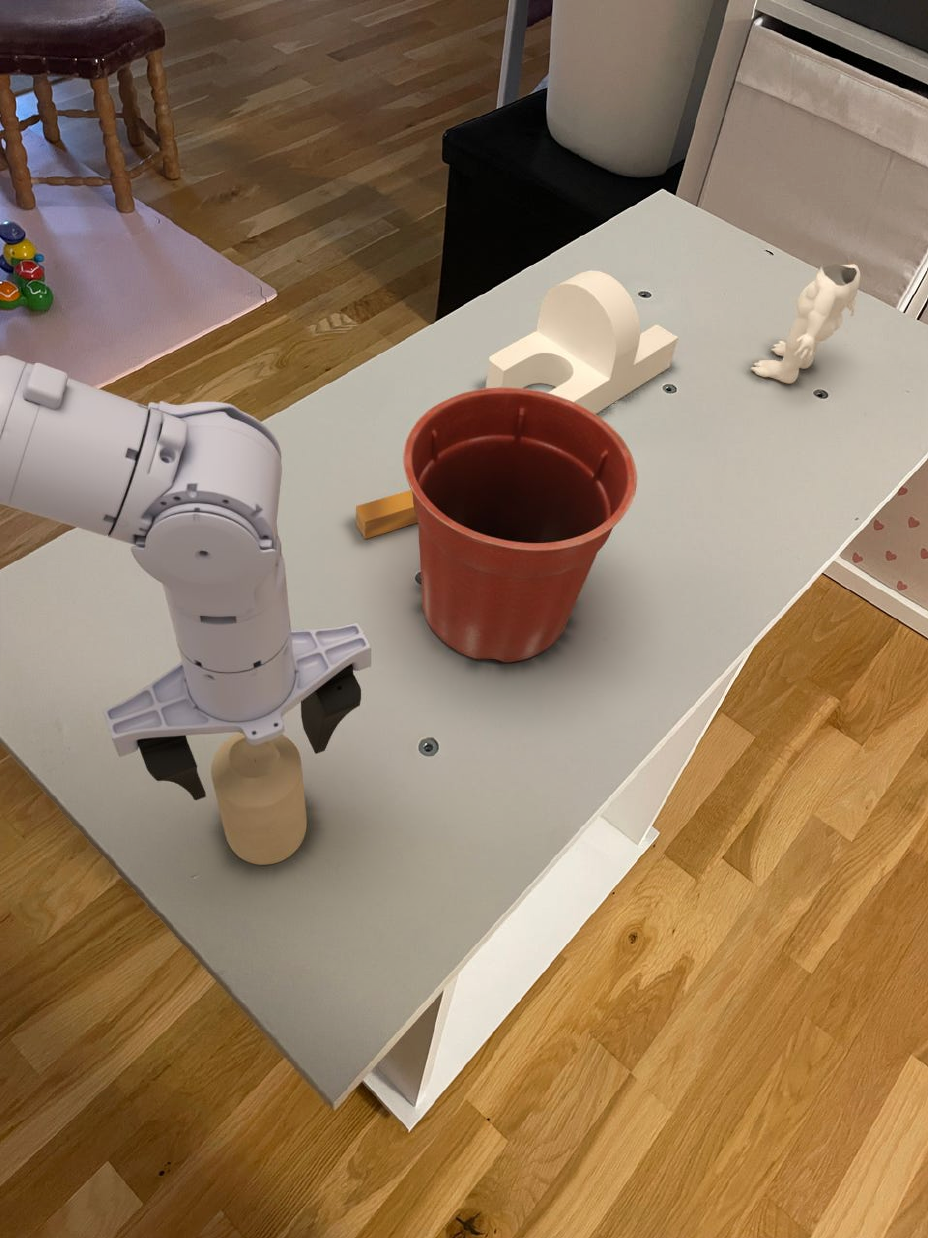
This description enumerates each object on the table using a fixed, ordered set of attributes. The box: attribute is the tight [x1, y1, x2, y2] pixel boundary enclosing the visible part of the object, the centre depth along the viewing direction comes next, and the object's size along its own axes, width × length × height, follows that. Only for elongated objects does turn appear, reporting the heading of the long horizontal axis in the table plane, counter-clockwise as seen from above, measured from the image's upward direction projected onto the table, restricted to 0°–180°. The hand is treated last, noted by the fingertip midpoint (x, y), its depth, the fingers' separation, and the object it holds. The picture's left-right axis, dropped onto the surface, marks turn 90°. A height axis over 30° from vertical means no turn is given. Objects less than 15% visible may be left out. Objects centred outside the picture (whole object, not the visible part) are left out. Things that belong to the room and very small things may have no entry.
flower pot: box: [402, 387, 638, 663], centre depth 76 cm, size 16×16×16 cm
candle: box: [210, 732, 308, 866], centre depth 64 cm, size 6×6×10 cm
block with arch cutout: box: [485, 269, 679, 415], centre depth 97 cm, size 18×10×11 cm, turn 134°
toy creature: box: [750, 263, 861, 384], centre depth 100 cm, size 12×6×12 cm, turn 141°
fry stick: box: [355, 489, 418, 540], centre depth 87 cm, size 14×2×2 cm, turn 117°
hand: (256, 762), depth 61 cm, fingers open, 7 cm apart
